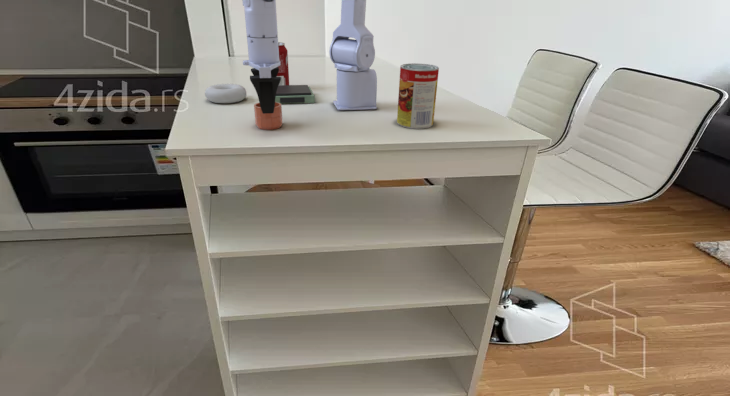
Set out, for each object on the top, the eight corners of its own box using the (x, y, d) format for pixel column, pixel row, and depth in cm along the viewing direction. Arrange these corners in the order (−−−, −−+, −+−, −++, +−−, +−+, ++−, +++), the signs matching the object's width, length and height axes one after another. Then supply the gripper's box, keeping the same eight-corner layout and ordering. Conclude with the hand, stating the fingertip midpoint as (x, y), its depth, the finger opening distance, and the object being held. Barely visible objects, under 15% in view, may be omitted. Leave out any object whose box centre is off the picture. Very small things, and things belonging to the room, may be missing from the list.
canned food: (419, 116, 97) (424, 62, 92) (440, 126, 91) (446, 68, 85) (390, 120, 94) (393, 64, 88) (409, 130, 87) (414, 70, 82)
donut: (197, 103, 103) (236, 106, 101) (195, 89, 101) (234, 91, 100) (218, 94, 112) (254, 96, 110) (216, 81, 110) (252, 83, 108)
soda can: (287, 90, 117) (284, 45, 112) (262, 90, 117) (259, 44, 112) (291, 85, 123) (289, 42, 118) (268, 85, 123) (264, 41, 118)
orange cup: (282, 122, 90) (280, 101, 88) (283, 129, 86) (281, 107, 84) (256, 123, 89) (254, 101, 87) (255, 130, 85) (253, 108, 83)
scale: (310, 93, 116) (309, 84, 114) (314, 103, 106) (314, 93, 105) (269, 94, 113) (268, 85, 112) (269, 104, 103) (269, 94, 102)
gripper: (241, 32, 85) (248, 100, 91) (238, 40, 73) (246, 118, 79) (277, 33, 87) (281, 99, 93) (280, 41, 74) (284, 117, 80)
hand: (267, 108), depth 86 cm, fingers open, 7 cm apart
